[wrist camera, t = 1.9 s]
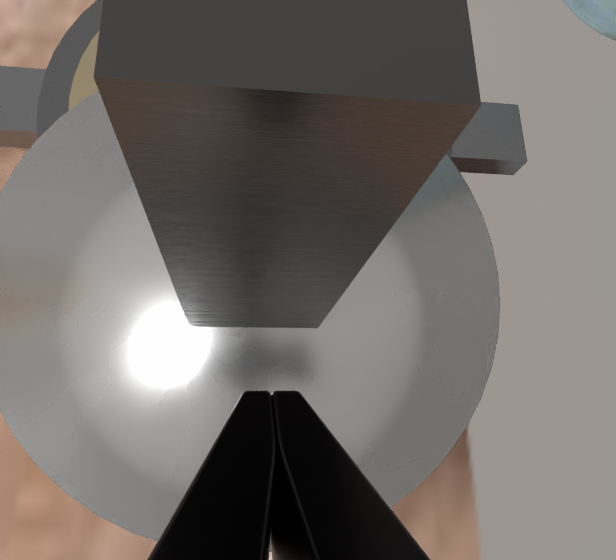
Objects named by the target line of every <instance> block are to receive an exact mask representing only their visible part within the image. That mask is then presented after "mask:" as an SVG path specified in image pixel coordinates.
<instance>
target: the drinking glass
mask: <svg viewBox="0 0 616 560" xmlns="http://www.w3.org/2000/svg"><path fill="white" fill-rule="evenodd" d="M563 1H564V2H565V4H566V5H567V6H568V7H569V8H570V10H571V11H572V12H573V13H574V14H575V15H576V16H577V17H578V18H579V19H580V20H582V21H583V22H584V23H585V24H587V25H588V26H590V27H591V28H593V29H594V30H596V31H597V32H599V33H601V34H603V35H605V36H607V37H609V38H611V39H614V40H616V0H563Z"/></svg>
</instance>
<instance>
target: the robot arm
mask: <svg viewBox="0 0 616 560" xmlns="http://www.w3.org/2000/svg"><path fill="white" fill-rule="evenodd" d="M270 536H271V549H272V558H273V560H430V559H429V558H428V556H427V555H426V554H425V552H424V551H423V550H422V549H421V547H420V546H419V545H418V543H417V542H416V541H415V540H414V538H413V537H412V536H411V534H410V533H409V532H408V531H407V529H406V528H405V527H404V525H403V524H402V523H401V521H400V520H399V519H398V518H397V516H396V515H395V514H394V512H393V511H392V510H391V509H390V507H389V506H388V505H387V503H386V502H385V501H384V500H383V498H382V497H381V496H380V494H379V493H378V492H377V491H376V489H375V488H374V487H373V485H372V484H371V483H370V482H369V480H368V479H367V478H366V476H365V475H364V474H363V473H362V471H361V470H360V469H359V467H358V466H357V465H356V464H355V462H354V461H353V460H352V458H351V457H350V456H349V455H348V453H347V452H346V451H345V449H344V448H343V447H342V446H341V444H340V443H339V442H338V440H337V439H336V438H335V437H334V435H333V434H332V433H331V431H330V430H329V429H328V428H327V426H326V425H325V424H324V422H323V421H322V420H321V419H320V417H319V416H318V415H317V413H316V412H315V411H314V410H313V408H312V407H311V406H310V404H309V403H308V402H307V401H306V399H305V398H304V397H303V395H302V394H301V393H300V392H298V391H274V392H273V393H272V395H271V393H270V392H269V391H245V392H243V393H242V395H241V396H240V398H239V400H238V402H237V403H236V405H235V407H234V409H233V410H232V412H231V414H230V416H229V417H228V419H227V421H226V423H225V424H224V426H223V428H222V430H221V431H220V433H219V435H218V437H217V438H216V440H215V442H214V444H213V445H212V447H211V449H210V451H209V452H208V454H207V456H206V458H205V459H204V461H203V463H202V465H201V467H200V468H199V470H198V472H197V474H196V475H195V477H194V479H193V481H192V482H191V484H190V486H189V488H188V489H187V491H186V493H185V495H184V496H183V498H182V500H181V502H180V503H179V505H178V507H177V509H176V510H175V512H174V514H173V516H172V517H171V519H170V521H169V523H168V524H167V526H166V528H165V530H164V531H163V533H162V535H161V537H160V538H159V540H158V542H157V544H156V545H155V547H154V549H153V551H152V552H151V554H150V556H149V558H148V559H147V560H268V559H269V547H270Z"/></svg>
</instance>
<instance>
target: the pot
mask: <svg viewBox="0 0 616 560" xmlns="http://www.w3.org/2000/svg"><path fill="white" fill-rule="evenodd" d="M102 7H103V0H97V1H95V2H94V3H93V4H92V5H91V6H90V7H89V8H88V9H87V10H86V11H84V12H83V13H82V14H81V15H80V17H79V18H78V19H77V20H76V21H75V22H74V24H73V25H72V26H71V27H70V28H69V30H68V31H67V32H66V34H65V35H64V37H63V38H62V40H61V42H60V43H59V45H58V46H57V48H56V50H55V51H54V53H53V56H52V58H51V60H50V63H49V65H48V67H47V69H34V68H20V67H7V66H0V147H18V148H31V147H32V145H33V144H34V143H35V141H36V140H37V139H38V138H39V137H40V136H41V135H42V134H43V133H44V132H45V131H47V130H48V129H49V128H50V127H51V126H52V125H53V124H54V123H55V122H56V121H57V120H58V119H59V118H60V117H61V116H63V115H64V114H65V113H67V112H68V111H69V110H70V109H72V108H73V107H74V106H76V105H77V104H78V103H80V102H81V101H82V100H84V99H85V98H87V97H88V96H90V95H92V94H94V93H95V92H97V91H99V90H98V87H97V85H96V82H95V80H94V69H95V61H96V54H97V46H98V38H99V30H100V22H101V15H102ZM446 154H447V156H448V157H449V158H450V159H451V161H452V162H453V163H454V164H455V166H456V167H457V169H458V171H459V172H469V173H487V174H505V175H514V173H516V171H518V170H519V169H520V168H521V167H522V166H523V165H524V164H525V163H526V162H527V157H526V151H525V145H524V139H523V133H522V126H521V121H520V114H519V108H518V105H512V104H499V103H486V102H481V107H480V108H479V109H478V111H477V112H476V113H475V115H474V116H473V118H472V119H471V120H470V122H469V123H468V124H467V126H466V127H465V128H464V130H463V131H462V133H461V134H460V135H459V137H458V138H457V139H456V141H455V142H454V143H453V145H452V146H451V147H450V149H449V150H448V152H447V153H446Z"/></svg>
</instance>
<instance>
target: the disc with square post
mask: <svg viewBox="0 0 616 560" xmlns="http://www.w3.org/2000/svg"><path fill="white" fill-rule="evenodd" d="M94 80H95V82H96V85H97V87H98V90H99V91H97V92H95V93H94V94H92V95H90V96H88V97H87V98H85V99H84V100H82V101H81V102H80V103H78V104H77V105H76V106H74V107H73V108H72V109H70V110H69V111H68V112H67V113H65V114H64V115H63V116H61V117H60V118H59V119H58V120H57V121H56V122H55V123H54V124H53V125H52V126H51V127H50V128H49V129H48V130H47V131H45V132H44V133H43V134H42V135H41V136H40V137H39V138H38V139H37V140H36V141H35V143H34V144H33V145H32V147H31V148H30V149H29V150H28V152H27V153H26V154H25V155H24V157H23V158H22V159H21V161H20V162H19V163H18V164H17V166H16V167H15V169H14V171H13V172H12V174H11V176H10V177H9V179H8V181H7V182H6V184H5V186H4V187H3V189H2V191H1V192H0V412H1V413H2V415H3V417H4V419H5V421H6V423H7V424H8V426H9V428H10V430H11V432H12V434H13V435H14V436H15V438H16V439H17V440H18V442H19V443H20V444H21V446H22V447H23V448H24V449H25V451H26V452H27V453H28V455H29V456H30V457H31V459H32V460H33V461H34V463H35V464H36V465H37V466H38V467H39V468H40V469H41V470H42V471H43V472H44V473H45V474H46V475H47V476H48V477H49V478H50V479H51V480H52V481H53V482H54V483H56V484H57V485H58V486H59V487H60V488H61V489H62V490H63V491H64V492H65V493H66V494H68V495H69V496H71V497H72V498H73V499H75V500H76V501H78V502H79V503H81V504H82V505H83V506H85V507H86V508H88V509H89V510H90V511H92V512H93V513H95V514H96V515H98V516H100V517H102V518H104V519H106V520H108V521H110V522H112V523H114V524H116V525H118V526H120V527H122V528H123V529H125V530H127V531H129V532H131V533H134V534H137V535H140V536H143V537H146V538H149V539H152V540H155V541H158V540H159V538H160V537H161V535H162V533H163V531H164V530H165V528H166V526H167V524H168V523H169V521H170V519H171V517H172V516H173V514H174V512H175V510H176V509H177V507H178V505H179V503H180V502H181V500H182V498H183V496H184V495H185V493H186V491H187V489H188V488H189V486H190V484H191V482H192V481H193V479H194V477H195V475H196V474H197V472H198V470H199V468H200V467H201V465H202V463H203V461H204V459H205V458H206V456H207V454H208V452H209V451H210V449H211V447H212V445H213V444H214V442H215V440H216V438H217V437H218V435H219V433H220V431H221V430H222V428H223V426H224V424H225V423H226V421H227V419H228V417H229V416H230V414H231V412H232V410H233V409H234V407H235V405H236V403H237V402H238V400H239V398H240V396H241V395H242V393H243V392H245V391H269V392H270V393H271V395H272V393H273V392H274V391H298V392H300V393H301V394H302V395H303V397H304V398H305V399H306V401H307V402H308V403H309V404H310V406H311V407H312V408H313V410H314V411H315V412H316V413H317V415H318V416H319V417H320V419H321V420H322V421H323V422H324V424H325V425H326V426H327V428H328V429H329V430H330V431H331V433H332V434H333V435H334V437H335V438H336V439H337V440H338V442H339V443H340V444H341V446H342V447H343V448H344V449H345V451H346V452H347V453H348V455H349V456H350V457H351V458H352V460H353V461H354V462H355V464H356V465H357V466H358V467H359V469H360V470H361V471H362V473H363V474H364V475H365V476H366V478H367V479H368V480H369V482H370V483H371V484H372V485H373V487H374V488H375V489H376V491H377V492H378V493H379V494H380V496H381V497H382V498H383V500H384V501H385V502H386V503H387V505H388V506H389V507H392V506H394V505H395V504H396V503H398V502H399V501H400V500H401V499H403V498H404V497H405V496H406V495H407V494H409V493H410V492H411V491H412V490H413V489H415V488H416V487H417V486H418V485H420V484H421V483H422V482H423V481H424V480H425V479H426V478H427V477H428V476H429V475H430V474H431V472H432V471H433V470H434V469H435V468H436V467H437V466H438V465H439V464H440V463H441V462H442V460H443V459H444V458H445V457H446V456H447V455H448V453H449V452H450V451H451V449H452V448H453V446H454V445H455V443H456V442H457V440H458V439H459V437H460V436H461V435H462V433H463V432H464V430H465V429H466V427H467V425H468V423H469V421H470V419H471V417H472V415H473V413H474V411H475V409H476V407H477V405H478V403H479V401H480V399H481V397H482V394H483V391H484V388H485V386H486V383H487V380H488V377H489V374H490V371H491V368H492V364H493V359H494V353H495V349H496V343H497V338H498V329H499V311H500V297H499V282H498V272H497V267H496V262H495V256H494V252H493V246H492V242H491V239H490V236H489V233H488V230H487V228H486V225H485V222H484V218H483V215H482V213H481V211H480V209H479V207H478V205H477V203H476V201H475V199H474V197H473V194H472V192H471V190H470V188H469V187H468V185H467V183H466V182H465V180H464V179H463V177H462V175H461V174H460V172H459V171H458V169H457V167H456V166H455V164H454V163H453V162H452V161H451V159H450V158H449V157H448V156H447V154H446V153H447V152H448V150H449V149H450V147H451V146H452V145H453V143H454V142H455V141H456V139H457V138H458V137H459V135H460V134H461V133H462V131H463V130H464V128H465V127H466V126H467V124H468V123H469V122H470V120H471V119H472V118H473V116H474V115H475V113H476V112H477V111H478V109H479V108H480V107H481V101H480V94H479V86H478V79H477V72H476V65H475V57H474V50H473V44H472V36H471V29H470V21H469V14H468V7H467V0H103V7H102V15H101V22H100V30H99V38H98V46H97V54H96V61H95V69H94ZM271 551H272V549H271V536H270V547H269V552H271Z"/></svg>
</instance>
